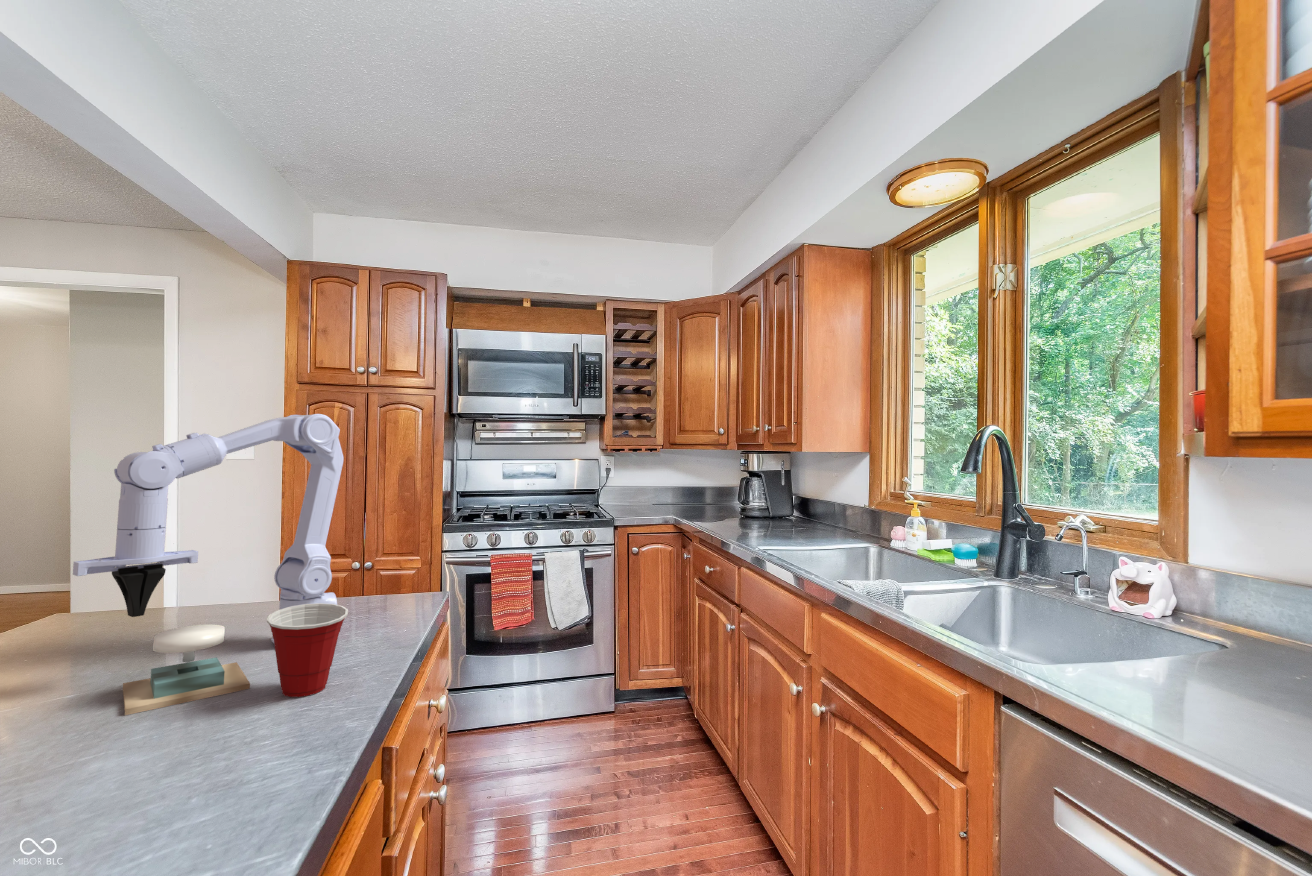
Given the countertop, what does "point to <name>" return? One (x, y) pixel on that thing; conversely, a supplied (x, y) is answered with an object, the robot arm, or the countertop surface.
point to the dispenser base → (147, 703)
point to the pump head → (188, 640)
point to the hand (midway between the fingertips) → (135, 615)
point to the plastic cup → (305, 645)
